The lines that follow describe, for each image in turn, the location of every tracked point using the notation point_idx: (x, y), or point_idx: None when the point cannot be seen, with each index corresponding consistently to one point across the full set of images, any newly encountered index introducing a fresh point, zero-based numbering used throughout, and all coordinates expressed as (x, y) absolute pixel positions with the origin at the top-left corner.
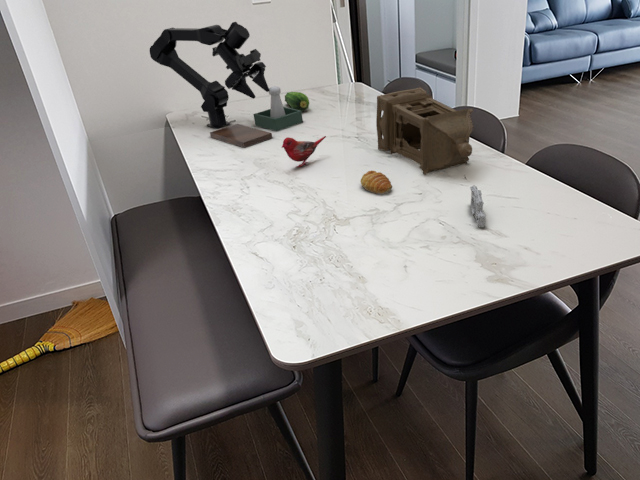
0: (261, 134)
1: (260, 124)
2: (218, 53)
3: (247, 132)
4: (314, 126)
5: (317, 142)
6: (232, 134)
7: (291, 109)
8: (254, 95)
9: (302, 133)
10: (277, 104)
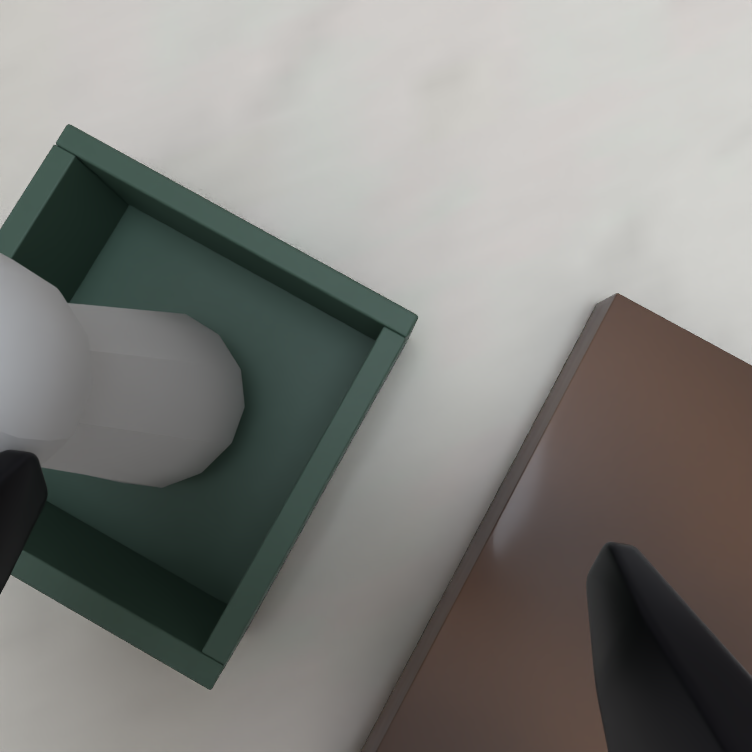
0: (675, 376)
1: (286, 557)
2: None
3: None
4: (249, 36)
5: None
6: None
7: None
8: (644, 564)
9: (450, 79)
10: (148, 342)
